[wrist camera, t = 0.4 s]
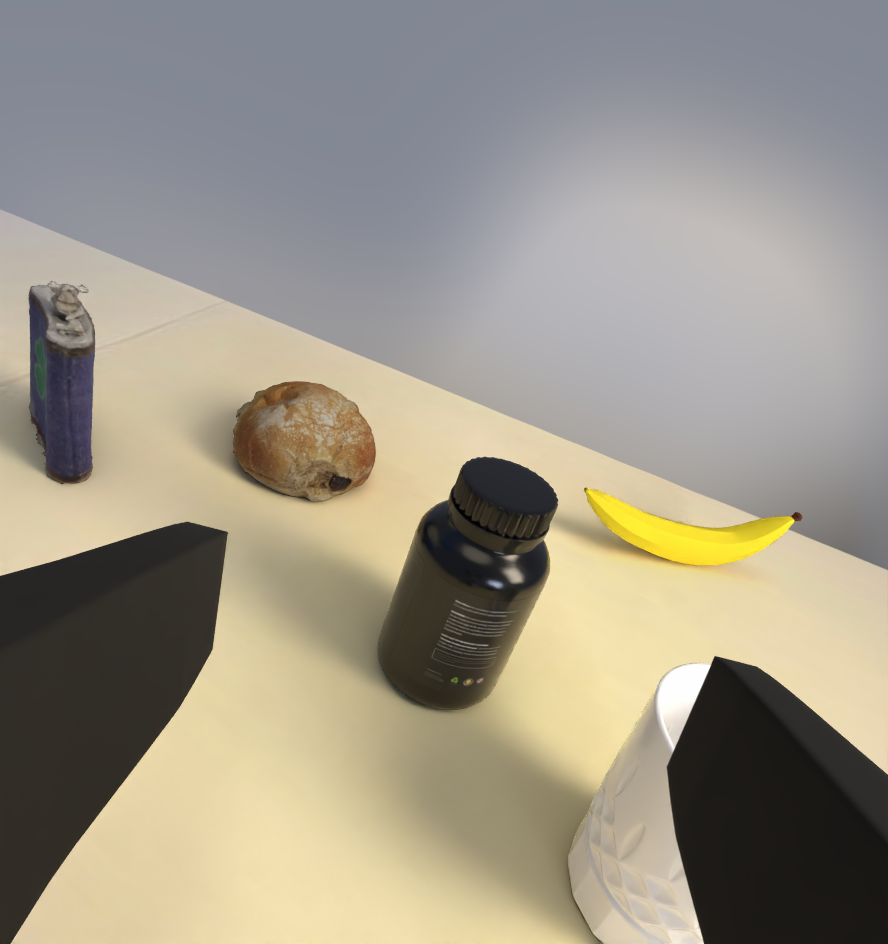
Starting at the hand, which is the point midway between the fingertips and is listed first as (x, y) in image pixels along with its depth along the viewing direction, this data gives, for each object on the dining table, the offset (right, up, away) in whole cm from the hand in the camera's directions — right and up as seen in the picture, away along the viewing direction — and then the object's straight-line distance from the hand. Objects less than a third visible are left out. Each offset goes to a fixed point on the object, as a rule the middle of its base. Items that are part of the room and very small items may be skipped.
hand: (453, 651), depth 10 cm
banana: (+18, -5, +45) cm, 48 cm away
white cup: (+8, -16, +19) cm, 26 cm away
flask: (-25, +4, +34) cm, 42 cm away
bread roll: (-11, +3, +40) cm, 42 cm away
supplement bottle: (-1, -8, +27) cm, 29 cm away
